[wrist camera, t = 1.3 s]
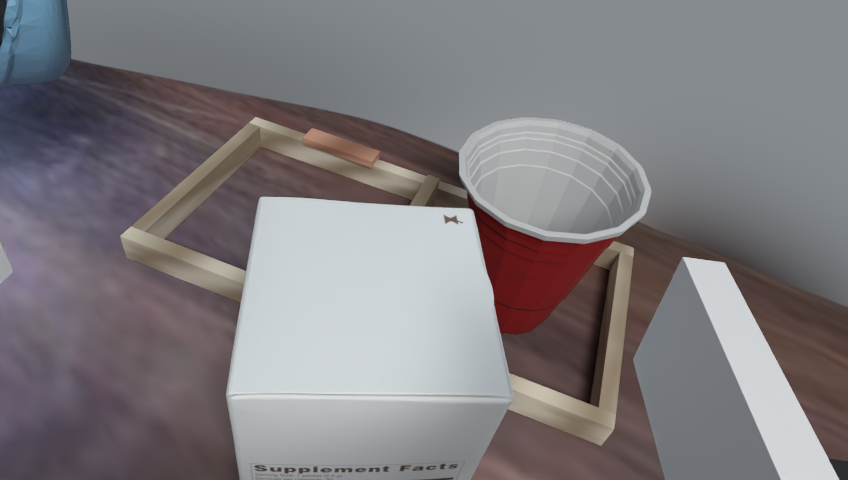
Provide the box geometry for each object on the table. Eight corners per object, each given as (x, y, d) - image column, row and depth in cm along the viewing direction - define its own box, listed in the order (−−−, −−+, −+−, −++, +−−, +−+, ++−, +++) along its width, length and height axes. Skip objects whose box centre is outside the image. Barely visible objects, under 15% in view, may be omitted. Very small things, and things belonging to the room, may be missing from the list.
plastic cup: (414, 246, 43) (443, 106, 35) (549, 245, 45) (606, 114, 37) (441, 373, 35) (486, 233, 27) (600, 364, 38) (687, 233, 30)
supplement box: (267, 390, 33) (255, 186, 23) (422, 391, 34) (478, 201, 24) (245, 566, 26) (215, 395, 16) (437, 558, 28) (522, 397, 18)
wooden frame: (126, 257, 38) (116, 224, 36) (258, 135, 50) (257, 105, 47) (600, 445, 34) (621, 420, 32) (623, 263, 45) (639, 236, 43)
